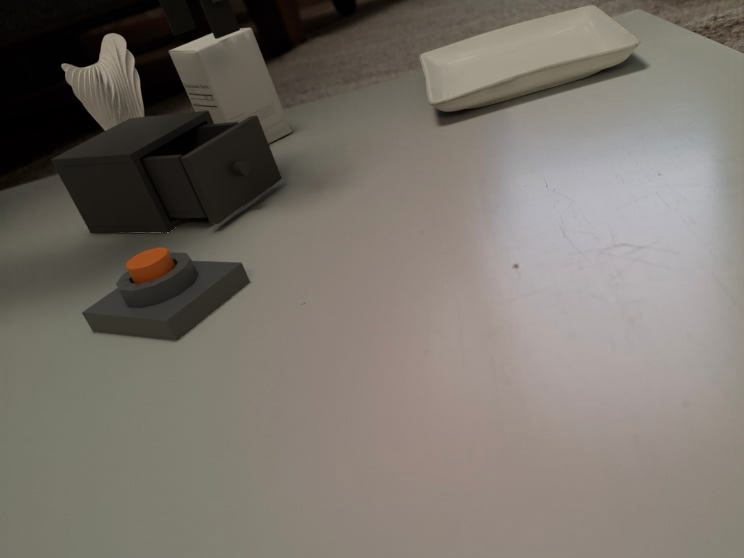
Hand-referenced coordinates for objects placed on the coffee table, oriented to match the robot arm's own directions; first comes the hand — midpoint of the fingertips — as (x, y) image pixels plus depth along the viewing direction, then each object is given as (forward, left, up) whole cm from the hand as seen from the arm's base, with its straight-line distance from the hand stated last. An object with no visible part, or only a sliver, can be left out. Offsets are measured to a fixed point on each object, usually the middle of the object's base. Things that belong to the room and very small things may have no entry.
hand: (205, 33), depth 94 cm
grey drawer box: (-14, -3, -18) cm, 23 cm away
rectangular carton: (-12, +18, -19) cm, 29 cm away
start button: (+3, -29, -15) cm, 32 cm away
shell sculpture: (-32, +19, -19) cm, 41 cm away
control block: (+3, -29, -18) cm, 34 cm away
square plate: (+27, +28, -19) cm, 44 cm away
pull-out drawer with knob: (-4, -5, -17) cm, 19 cm away
